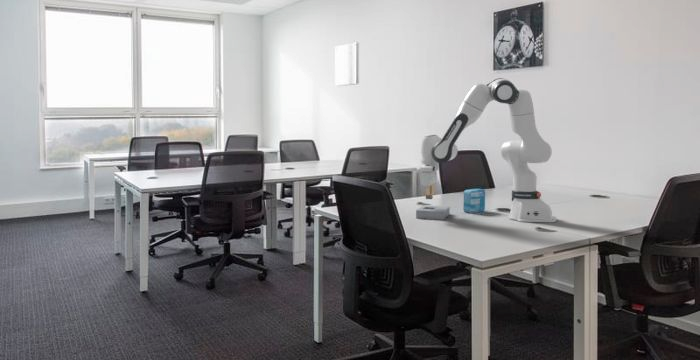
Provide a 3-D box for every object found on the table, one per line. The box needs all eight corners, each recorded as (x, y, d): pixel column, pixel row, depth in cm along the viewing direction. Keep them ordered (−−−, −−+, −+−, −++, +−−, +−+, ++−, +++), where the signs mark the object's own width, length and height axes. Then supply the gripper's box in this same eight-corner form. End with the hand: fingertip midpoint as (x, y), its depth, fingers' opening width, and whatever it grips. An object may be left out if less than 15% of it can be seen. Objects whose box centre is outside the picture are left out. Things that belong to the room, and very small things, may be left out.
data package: (469, 213, 278) (469, 191, 276) (463, 212, 281) (463, 190, 280) (484, 211, 284) (485, 189, 283) (478, 210, 288) (479, 188, 287)
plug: (433, 198, 271) (434, 183, 271) (432, 199, 268) (432, 183, 267) (426, 198, 273) (426, 182, 272) (424, 199, 269) (424, 183, 268)
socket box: (449, 214, 276) (449, 206, 275) (443, 219, 261) (443, 211, 260) (423, 212, 281) (423, 205, 280) (416, 218, 266) (416, 210, 265)
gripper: (428, 164, 279) (427, 190, 281) (419, 168, 260) (418, 195, 262) (439, 165, 277) (439, 191, 278) (431, 168, 258) (431, 196, 259)
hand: (429, 193), depth 270 cm, fingers closed on plug, 4 cm apart
